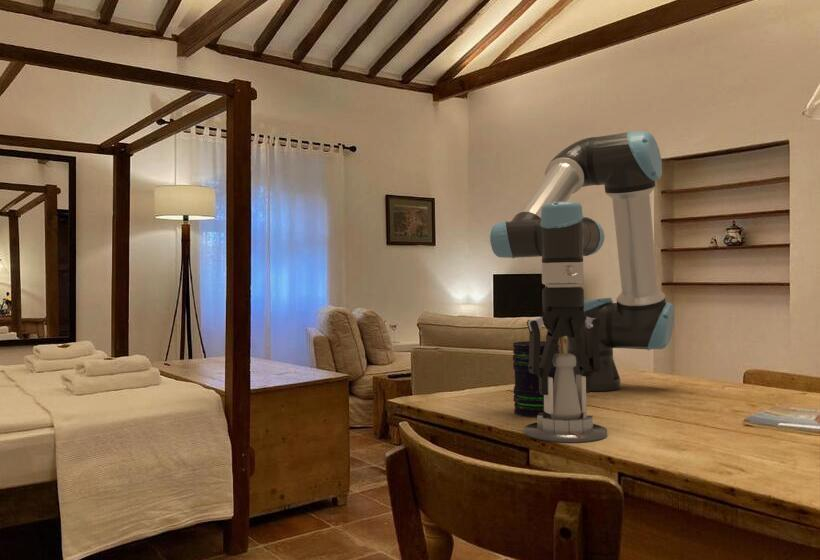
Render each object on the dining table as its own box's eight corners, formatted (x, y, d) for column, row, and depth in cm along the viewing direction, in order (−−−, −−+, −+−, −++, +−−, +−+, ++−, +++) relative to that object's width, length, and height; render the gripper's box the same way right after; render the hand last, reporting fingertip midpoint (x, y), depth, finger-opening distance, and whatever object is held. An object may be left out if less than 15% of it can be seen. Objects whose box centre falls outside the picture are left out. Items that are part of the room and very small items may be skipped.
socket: (513, 427, 134) (513, 410, 134) (586, 423, 136) (585, 406, 136) (541, 445, 119) (541, 425, 119) (622, 440, 122) (622, 421, 122)
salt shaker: (544, 425, 127) (543, 354, 127) (555, 419, 132) (554, 351, 132) (576, 428, 124) (574, 356, 124) (585, 422, 129) (584, 352, 129)
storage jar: (567, 411, 149) (565, 342, 149) (551, 419, 141) (550, 346, 141) (523, 407, 154) (522, 340, 154) (506, 415, 146) (505, 344, 146)
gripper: (521, 287, 122) (523, 418, 122) (619, 285, 126) (621, 412, 126) (507, 286, 130) (510, 410, 130) (601, 285, 133) (603, 405, 133)
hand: (565, 411), depth 128 cm, fingers closed on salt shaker, 6 cm apart
